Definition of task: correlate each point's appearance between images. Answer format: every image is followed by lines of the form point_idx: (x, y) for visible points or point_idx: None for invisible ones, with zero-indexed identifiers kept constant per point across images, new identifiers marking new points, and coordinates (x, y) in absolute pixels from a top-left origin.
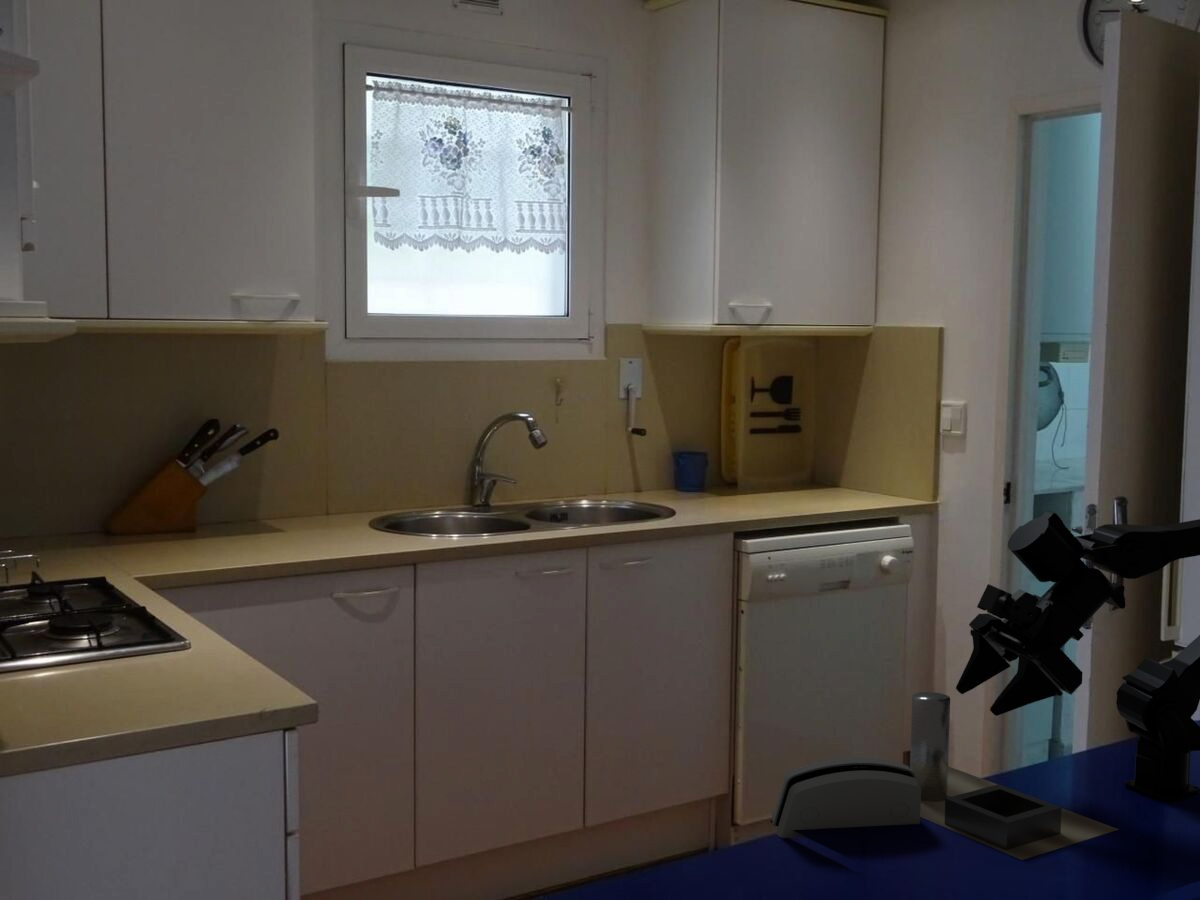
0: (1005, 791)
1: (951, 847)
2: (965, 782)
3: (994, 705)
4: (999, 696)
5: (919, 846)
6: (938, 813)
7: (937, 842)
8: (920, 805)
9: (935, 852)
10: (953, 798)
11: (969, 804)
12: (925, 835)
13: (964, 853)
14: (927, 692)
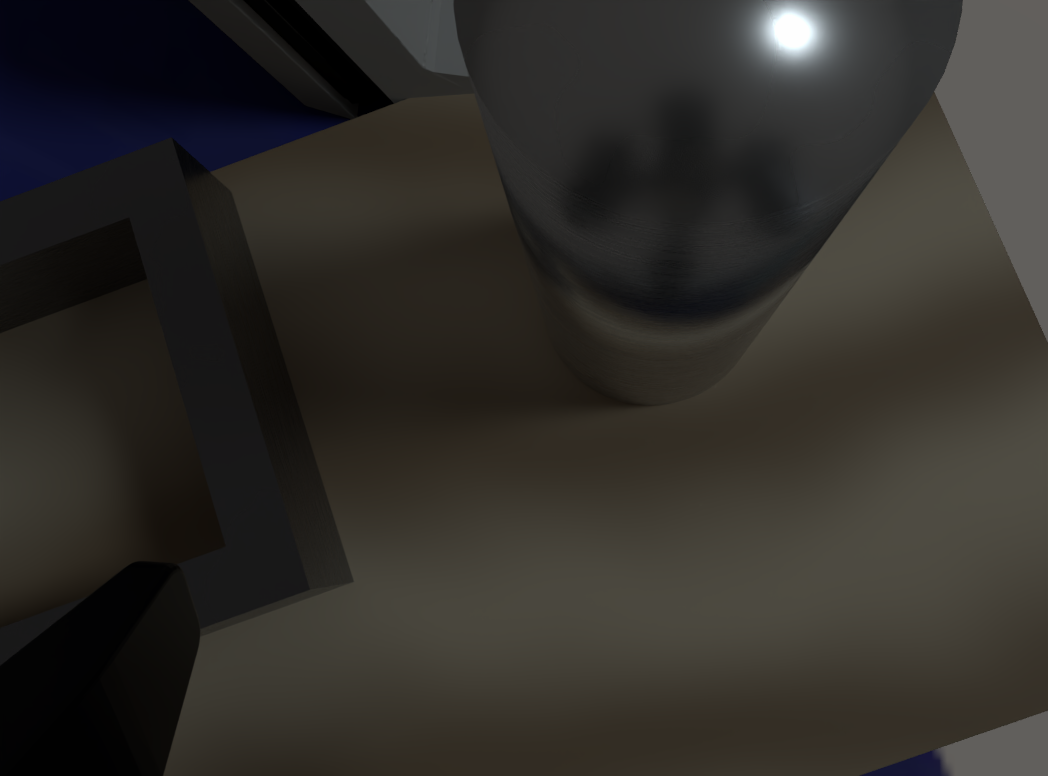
0: (183, 562)
1: (85, 162)
2: (819, 628)
3: (86, 601)
4: (27, 707)
5: (136, 27)
6: (376, 229)
7: (155, 126)
8: (194, 4)
9: (56, 68)
10: (158, 184)
11: (44, 228)
12: (247, 108)
13: (8, 188)
14: (933, 24)
